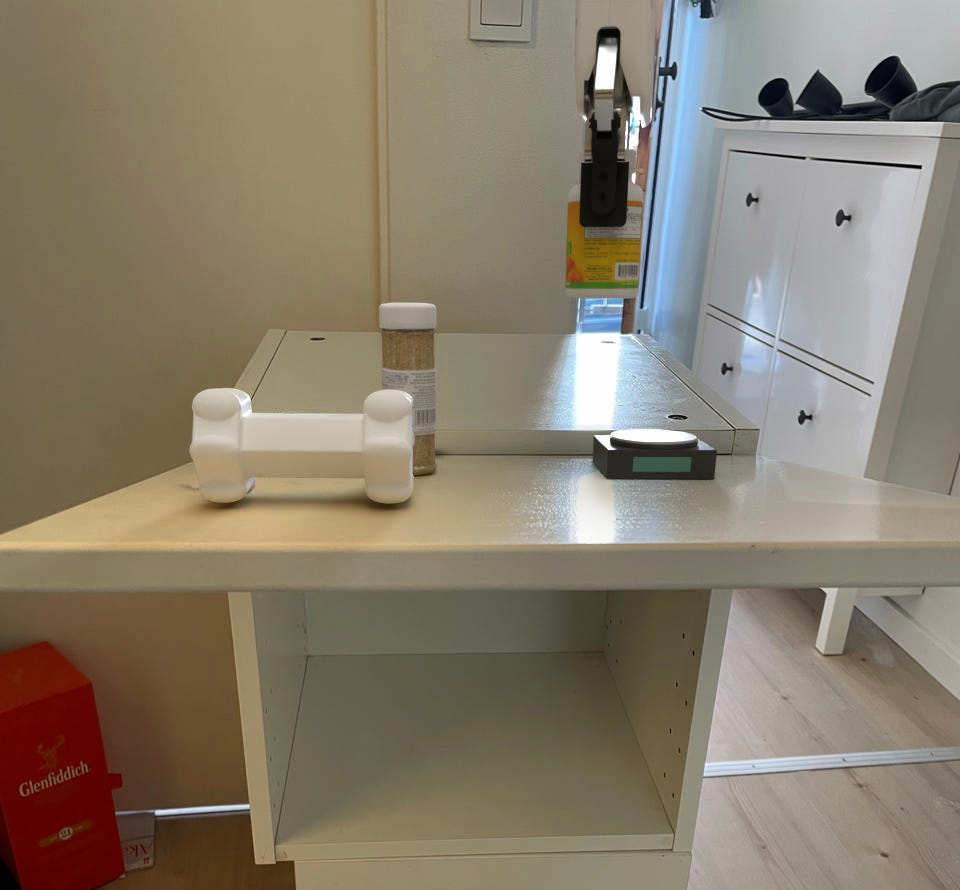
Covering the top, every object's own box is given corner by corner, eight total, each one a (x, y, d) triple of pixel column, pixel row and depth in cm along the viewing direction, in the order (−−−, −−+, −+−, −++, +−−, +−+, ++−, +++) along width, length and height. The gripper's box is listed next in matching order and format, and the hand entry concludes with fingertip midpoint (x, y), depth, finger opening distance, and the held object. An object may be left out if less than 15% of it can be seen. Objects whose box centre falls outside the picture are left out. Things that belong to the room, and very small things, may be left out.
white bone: (191, 515, 67) (180, 392, 64) (219, 488, 75) (210, 379, 72) (411, 516, 67) (410, 394, 64) (415, 490, 75) (414, 381, 72)
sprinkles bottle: (420, 465, 85) (419, 302, 80) (446, 473, 81) (446, 303, 77) (373, 469, 83) (369, 302, 78) (398, 478, 79) (395, 303, 75)
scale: (691, 462, 88) (694, 429, 87) (714, 479, 81) (718, 442, 80) (592, 462, 87) (594, 428, 86) (606, 479, 80) (608, 442, 79)
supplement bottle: (568, 297, 75) (573, 156, 71) (639, 297, 74) (647, 154, 70) (561, 298, 70) (565, 147, 66) (637, 298, 69) (645, 145, 65)
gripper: (677, -126, 55) (657, 222, 62) (674, -35, 71) (658, 234, 77) (545, -117, 57) (539, 223, 63) (571, -30, 72) (564, 234, 79)
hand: (605, 226), depth 70 cm, fingers closed on supplement bottle, 5 cm apart
